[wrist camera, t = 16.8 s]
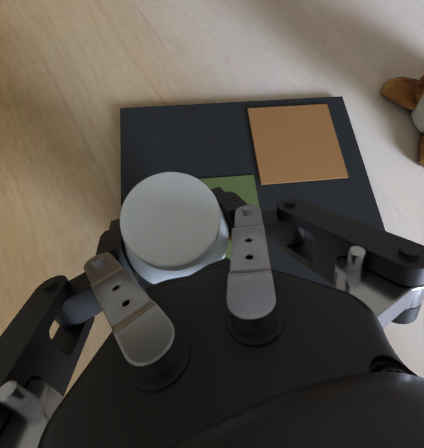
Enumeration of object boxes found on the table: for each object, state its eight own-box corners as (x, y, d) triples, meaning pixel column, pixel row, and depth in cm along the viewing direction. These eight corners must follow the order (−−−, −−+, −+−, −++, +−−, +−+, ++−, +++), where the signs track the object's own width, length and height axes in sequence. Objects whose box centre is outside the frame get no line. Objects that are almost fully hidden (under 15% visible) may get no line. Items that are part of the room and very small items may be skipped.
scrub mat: (124, 323, 17) (120, 325, 17) (122, 112, 23) (119, 106, 22) (398, 289, 19) (406, 289, 18) (339, 100, 24) (343, 94, 24)
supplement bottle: (194, 305, 17) (187, 319, 8) (136, 265, 18) (68, 237, 9) (232, 245, 19) (262, 199, 10) (177, 210, 19) (155, 135, 10)
